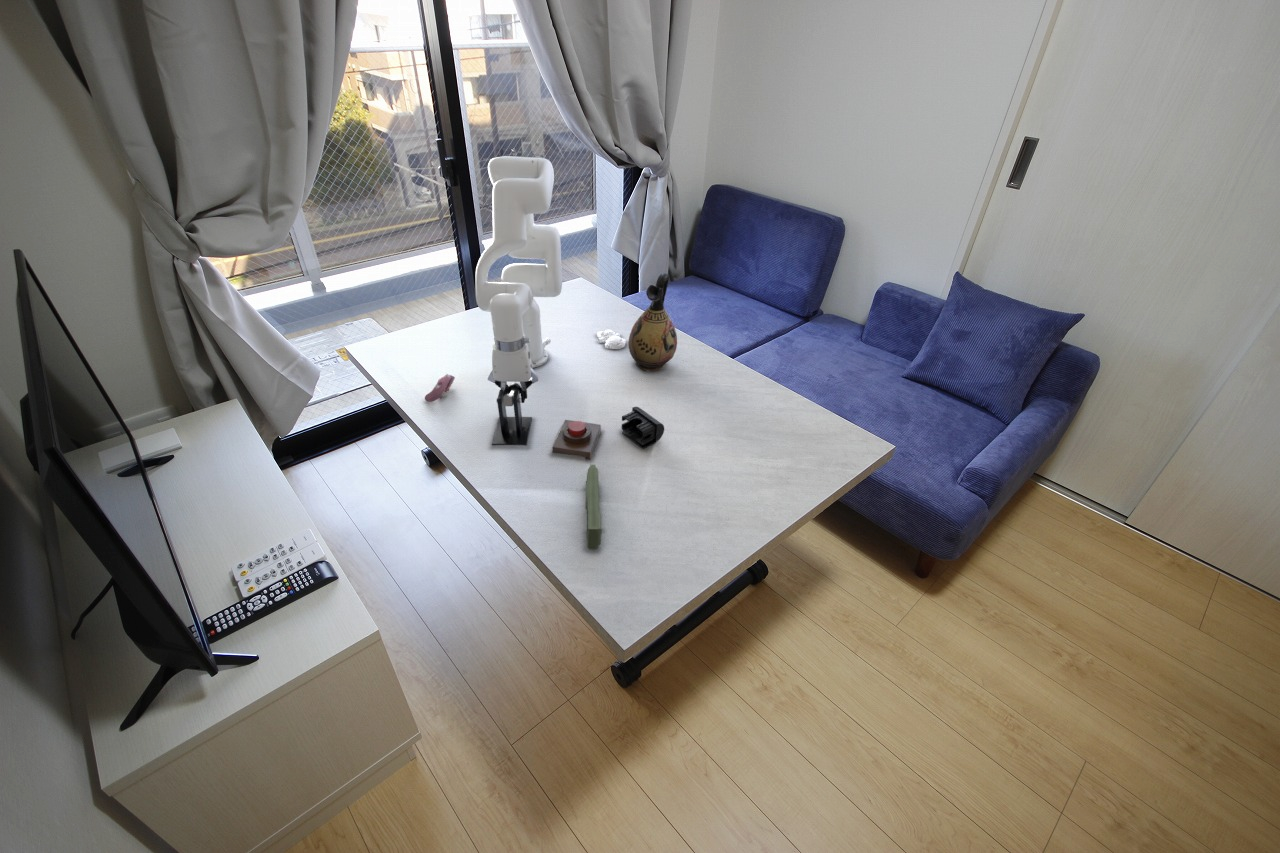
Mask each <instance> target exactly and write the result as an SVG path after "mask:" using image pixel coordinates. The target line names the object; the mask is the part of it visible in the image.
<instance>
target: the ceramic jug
mask: <svg viewBox="0 0 1280 853" xmlns="http://www.w3.org/2000/svg"><path fill="white" fill-rule="evenodd" d="M669 280H670V275H669V274H668V273H664V272H663V273H661V274H659V276H658V277H657V280H656V282H655V285H654V284H649V286H648V287H647V289H646V291H645V292H646V297H647V298H648V300H649V301H651V302H650V305H649V306H648V307H647V308H646V309H645V310H644V311H643V312H642V313H641V315H640V316H639V317H638V318H637V319H636V321H635V322H634V323H633V326H632V328H631V331H630V333H629V336H628V342H627V343H628V344H627V346H628V350H629V354H630V356H631V357H632V359H633V360H634V362H635V363H634V364H635V366H636V367H637V368H638V369H639V370H641V371H643V372H652V373H655V372H658V371H660V370H662V369H663V368H664V366H665V365H666V364H668V362H670V361H671V360H672V359H673V358H674V356H675V353H676V351H677V348H678V335H677V331H676V328H675V325H674V323H673V321H672V319H671V317H670V316H669V313H668V312H667V310H666V309H665V304H664V303H665V298H666V294H667V290H668V285H669Z"/></svg>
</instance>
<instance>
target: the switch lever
mask: <svg viewBox="0 0 1280 853" xmlns="http://www.w3.org/2000/svg"><path fill="white" fill-rule="evenodd" d="M508 386H509V388H508V391H509V393H510V394H505V396H504V397H503V400H504V406H506V407H514V405H513V397H514V393H515V390H519V395H521V393H520V391H521V384H520V383H518V382H511V383H510V385H508Z"/></svg>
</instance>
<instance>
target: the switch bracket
mask: <svg viewBox="0 0 1280 853" xmlns="http://www.w3.org/2000/svg"><path fill="white" fill-rule="evenodd" d="M503 397H504V390H501V389H499V391H498V394H497V397H496V403H497V410H498V419H497V423H496V426H495V431H494V435H493V437H492V438H493V439H492V441H491V442H492V443H491V445H492V446H527V445H528V440H529V437H530V436H529V435H530V430H531V425H532V420H533V417H532V416H523V415H522V406H521V404H522V403H521V394H519V390H515V393H514V397H513V412H514V416H508V414H507V406H504V400H503Z"/></svg>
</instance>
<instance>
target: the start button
mask: <svg viewBox="0 0 1280 853" xmlns="http://www.w3.org/2000/svg"><path fill="white" fill-rule="evenodd" d="M572 421H573V422H571V423H570V424H569V426H568V429H569V434H570V435H572V436H581V435H583V434H584V433H585V424H584V423H583V422H584V421H581V420H572Z"/></svg>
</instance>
